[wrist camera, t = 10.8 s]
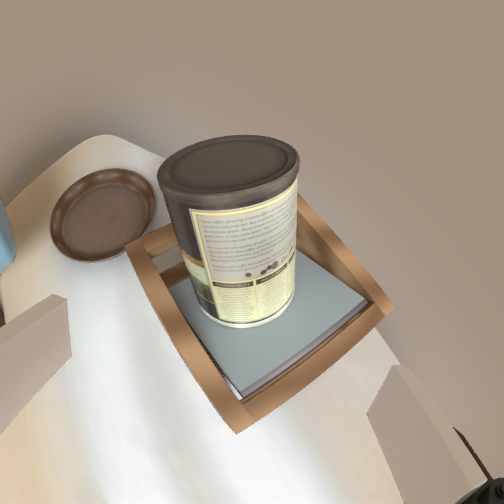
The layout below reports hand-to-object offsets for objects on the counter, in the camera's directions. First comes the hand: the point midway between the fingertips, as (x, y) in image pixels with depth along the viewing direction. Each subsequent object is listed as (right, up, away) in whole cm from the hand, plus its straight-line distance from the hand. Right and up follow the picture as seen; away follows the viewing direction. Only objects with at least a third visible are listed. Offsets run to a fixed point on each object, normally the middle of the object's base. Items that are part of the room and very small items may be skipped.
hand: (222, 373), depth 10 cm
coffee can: (0, +1, +20) cm, 20 cm away
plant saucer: (-26, +10, +36) cm, 46 cm away
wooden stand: (0, -7, +30) cm, 31 cm away
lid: (+2, -1, +19) cm, 19 cm away
